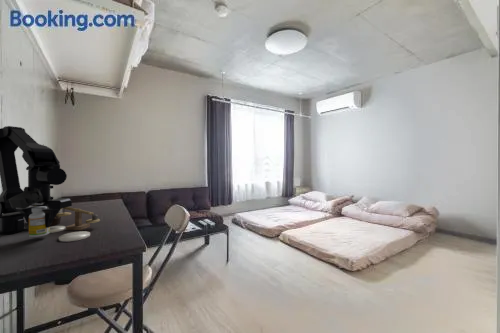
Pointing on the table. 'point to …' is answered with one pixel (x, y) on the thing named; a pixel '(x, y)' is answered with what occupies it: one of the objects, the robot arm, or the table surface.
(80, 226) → the balance
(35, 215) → the supplement bottle
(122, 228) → the table surface
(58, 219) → the coffee mug
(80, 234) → the dish low
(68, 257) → the table surface
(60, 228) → the dish high
